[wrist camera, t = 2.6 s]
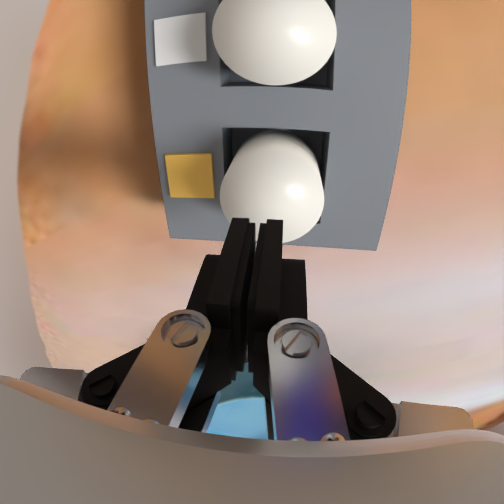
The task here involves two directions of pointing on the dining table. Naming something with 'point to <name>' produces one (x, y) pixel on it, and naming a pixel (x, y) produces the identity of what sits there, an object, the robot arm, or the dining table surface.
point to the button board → (280, 117)
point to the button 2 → (274, 183)
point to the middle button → (274, 38)
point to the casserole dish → (240, 409)
